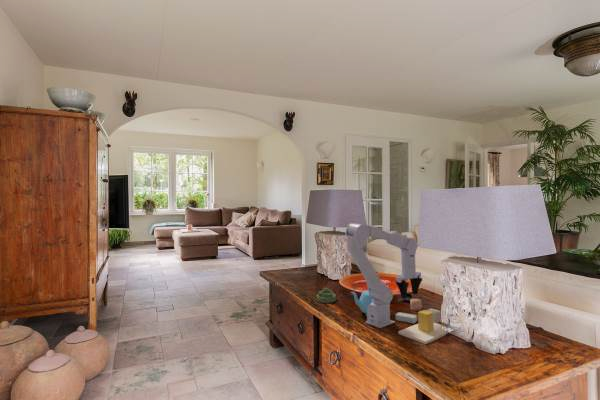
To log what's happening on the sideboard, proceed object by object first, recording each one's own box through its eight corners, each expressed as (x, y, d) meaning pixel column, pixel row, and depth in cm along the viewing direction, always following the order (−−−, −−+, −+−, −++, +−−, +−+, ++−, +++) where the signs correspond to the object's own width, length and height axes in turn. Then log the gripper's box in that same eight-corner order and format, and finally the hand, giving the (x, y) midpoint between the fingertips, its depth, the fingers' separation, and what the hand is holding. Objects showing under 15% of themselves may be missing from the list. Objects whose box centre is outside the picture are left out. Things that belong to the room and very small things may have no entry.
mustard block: (427, 333, 129) (427, 314, 129) (418, 329, 133) (417, 311, 133) (433, 330, 132) (433, 312, 132) (424, 327, 135) (424, 309, 135)
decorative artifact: (321, 304, 171) (339, 301, 175) (321, 290, 171) (339, 287, 175) (313, 298, 181) (330, 296, 184) (313, 285, 181) (330, 283, 184)
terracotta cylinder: (417, 311, 156) (417, 302, 156) (408, 308, 160) (407, 300, 160) (423, 309, 159) (423, 300, 159) (414, 306, 163) (414, 298, 163)
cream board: (425, 344, 122) (425, 341, 122) (398, 333, 132) (398, 331, 132) (453, 331, 133) (453, 328, 133) (426, 322, 142) (426, 320, 142)
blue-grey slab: (417, 321, 145) (417, 315, 145) (414, 324, 142) (414, 318, 142) (398, 317, 150) (398, 312, 150) (395, 320, 146) (395, 314, 146)
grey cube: (434, 324, 140) (434, 313, 140) (424, 321, 144) (424, 310, 144) (440, 321, 143) (440, 311, 143) (431, 318, 146) (430, 308, 146)
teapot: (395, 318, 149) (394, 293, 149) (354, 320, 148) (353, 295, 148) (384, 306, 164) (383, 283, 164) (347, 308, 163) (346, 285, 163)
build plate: (394, 303, 170) (394, 294, 170) (394, 298, 177) (394, 289, 177) (420, 304, 166) (420, 295, 166) (420, 300, 173) (419, 291, 173)
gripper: (405, 268, 141) (406, 301, 141) (426, 263, 149) (427, 294, 150) (391, 266, 147) (393, 297, 147) (412, 261, 155) (413, 291, 155)
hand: (409, 295), depth 149 cm, fingers open, 7 cm apart
